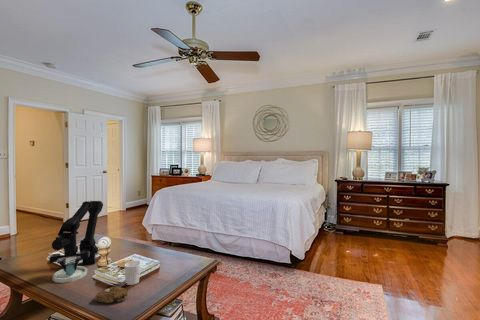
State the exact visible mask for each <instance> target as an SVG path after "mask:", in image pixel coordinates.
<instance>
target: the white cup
mask: <svg viewBox="0 0 480 320" xmlns="http://www.w3.org/2000/svg"><path fill="white" fill-rule="evenodd" d="M140 274H141V262H140V261H138V260H131V261H127V262H126V263H125V264H124V278H125V283H126V282H127V284H126V285H127V286H133V285H136V284H138V283H139V282H140V276H141V275H140Z"/></svg>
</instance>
